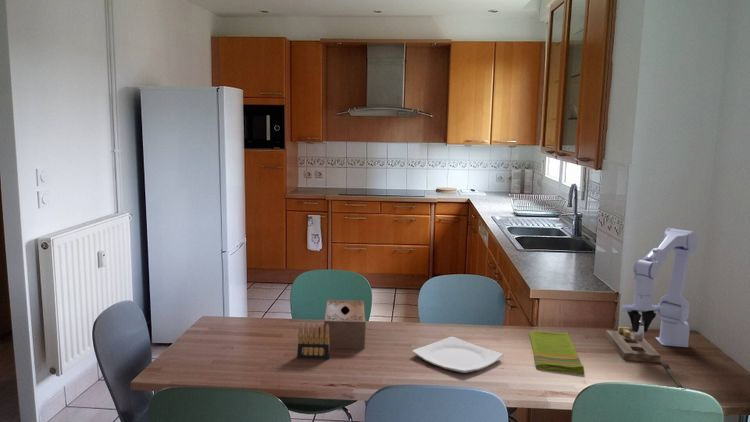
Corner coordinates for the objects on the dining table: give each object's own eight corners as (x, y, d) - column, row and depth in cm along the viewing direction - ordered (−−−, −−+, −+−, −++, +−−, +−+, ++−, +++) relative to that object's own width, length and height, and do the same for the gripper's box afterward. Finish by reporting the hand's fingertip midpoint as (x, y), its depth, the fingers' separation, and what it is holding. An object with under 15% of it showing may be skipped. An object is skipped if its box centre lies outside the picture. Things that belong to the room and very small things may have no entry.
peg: (639, 338, 206) (642, 319, 205) (645, 341, 203) (647, 322, 202) (631, 338, 206) (633, 319, 205) (636, 341, 203) (638, 322, 202)
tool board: (637, 338, 223) (638, 332, 223) (659, 362, 199) (660, 355, 199) (605, 336, 225) (606, 330, 224) (623, 359, 201) (624, 352, 201)
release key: (628, 332, 222) (629, 327, 221) (633, 337, 217) (633, 331, 216) (617, 332, 222) (618, 326, 222) (621, 336, 217) (622, 331, 217)
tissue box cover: (326, 324, 227) (327, 299, 226) (363, 325, 228) (363, 300, 227) (323, 348, 202) (324, 321, 200) (364, 349, 202) (365, 321, 201)
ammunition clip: (329, 357, 193) (330, 322, 192) (329, 359, 192) (330, 324, 190) (297, 356, 193) (298, 321, 192) (296, 358, 191) (297, 323, 190)
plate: (451, 341, 214) (451, 334, 213) (507, 361, 196) (508, 354, 196) (406, 357, 196) (406, 350, 196) (464, 381, 179) (465, 372, 179)
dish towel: (536, 370, 190) (536, 361, 189) (528, 335, 225) (529, 327, 224) (584, 376, 187) (585, 366, 186) (569, 339, 222) (570, 331, 221)
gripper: (655, 290, 207) (651, 327, 209) (618, 290, 205) (614, 327, 207) (667, 296, 200) (663, 333, 202) (629, 296, 198) (625, 334, 200)
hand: (639, 331), depth 204 cm, fingers closed on peg, 3 cm apart
